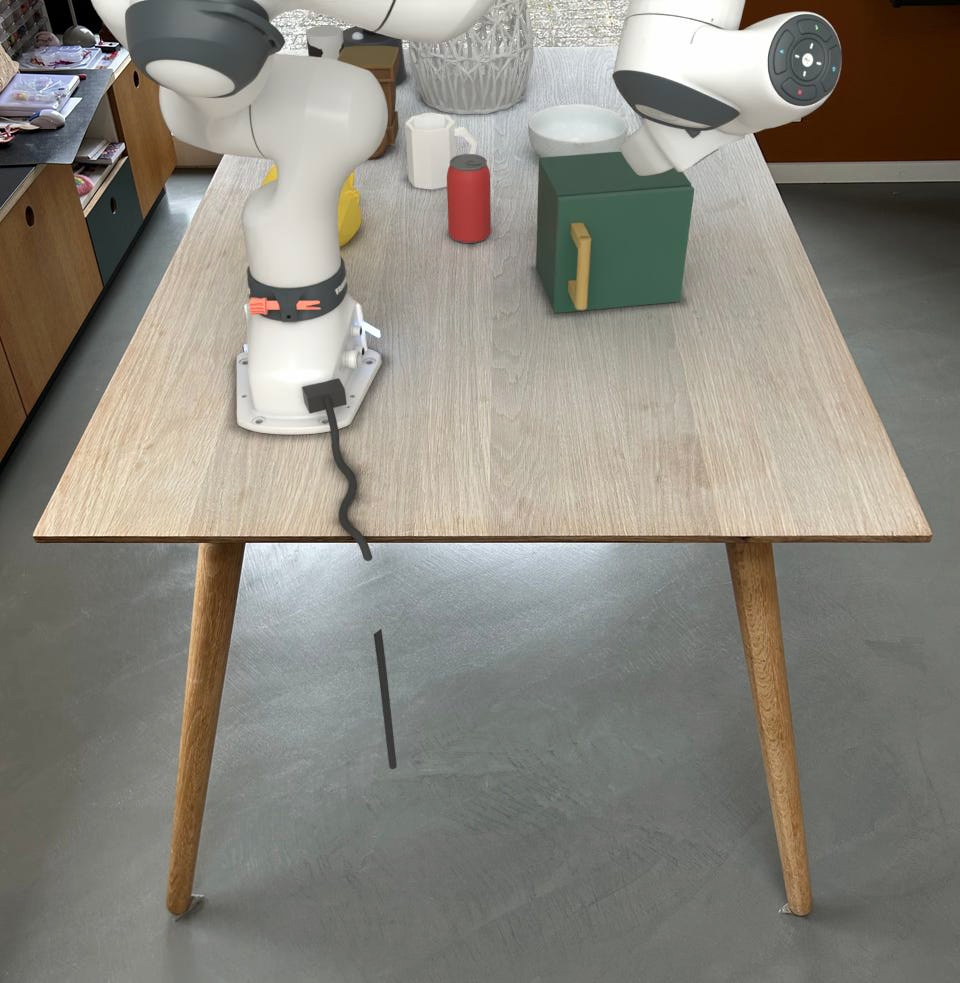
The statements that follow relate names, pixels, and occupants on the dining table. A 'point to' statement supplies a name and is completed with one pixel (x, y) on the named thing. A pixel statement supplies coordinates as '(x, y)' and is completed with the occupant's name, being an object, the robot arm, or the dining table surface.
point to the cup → (325, 41)
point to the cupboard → (584, 179)
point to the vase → (478, 65)
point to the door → (621, 248)
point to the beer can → (468, 198)
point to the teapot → (339, 207)
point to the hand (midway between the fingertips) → (687, 106)
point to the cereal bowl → (576, 130)
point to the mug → (433, 148)
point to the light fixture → (370, 38)
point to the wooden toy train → (385, 70)
